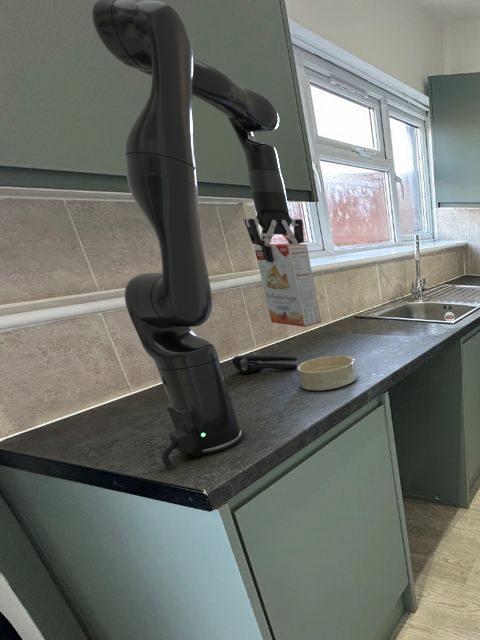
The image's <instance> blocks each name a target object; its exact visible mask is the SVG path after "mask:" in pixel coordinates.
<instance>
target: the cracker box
mask: <svg viewBox="0 0 480 640" xmlns="http://www.w3.org/2000/svg"><path fill="white" fill-rule="evenodd" d="M269 247H271V251H272V256H273V262H267V261H266V260H265V259H264V257H263V253H262V248H261V246H259V245H256V244H253V249H254V253H255V258H256V262H257V265H258V270H259V274H260V279H261V282H262V287H263V292H264V296H265V300H266V304H267V309H268V313H269V317H270V321H271V323H274V324H282V325H287V326H296V327H302V328H304V327H309V326H313V325H317V324H321V323H322V320H321V314H320V310H319V303H318V298H317V293H316V287H315V282H314V277H313V272H312V267H311V261H310V257H309V250H308V246H307V244H305V243H300V244H289V243H270V245H269Z"/></svg>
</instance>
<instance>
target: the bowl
mask: <svg viewBox="0 0 480 640" xmlns="http://www.w3.org/2000/svg"><path fill="white" fill-rule="evenodd" d="M297 366H298V367H297V368H296V371H297V376H298V379H299V384H300V387H301V388H302V389H304V390H307V391H329V390H330V391H331V390H335V389H339V388H343V387H345V386H347V385H349V384H351V383H353V382H354V381H356V380H357V378H358V375H357V369H356V364H355V358H353V357H352V356H348V355H326V356H321V357H315V358H312V359H308V360H306V361H304V362H301V363H300V364H297Z"/></svg>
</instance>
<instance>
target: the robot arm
mask: <svg viewBox="0 0 480 640" xmlns="http://www.w3.org/2000/svg"><path fill="white" fill-rule="evenodd" d="M91 19H92V23H93V28H94V30H95V33H96V34H97V36H98V38H99V41H101V43H102V45H103V46H104V47H105V49H106V50H107V51H108V52H109V53H110V54H111V55H112V56H113V57H114V58H115V59H116V60H118V61H119V63H122V64H123V65H124V66H127V67H128V68H130V69H133V70H136V71H138V72H139V73H143V74H146V75H149V76H150V88H149V92H148V95H147V98H146V100H145V103H144V104H143V106H142V108H141V109H140V111H139V113H138V114H137V116H136V117H135V119H134V121H133V123H132V125H131V126H130V128H129V130H128V133H127V135H126V138H125V141H124V161H125V162H124V163H125V171H126V173H125V174H126V179H127V186H128V190H129V192H130V194H131V196H132V198H133V201H134V202H135V204H136V205H137V207H138V208H139V210H140V211H141V213H142V214H143V216H144V218H145V219H146V220H147V223H148V224H149V226H150V227H151V228H152V230H153V232H154V234H155V236H156V238H157V241H158V244H159V250H160V258H161V272H156V273H155V272H154V273H152V272H151V273H149V272H148V273H141V274H137V275H136V276H133V277H132V278H131V279H129V281H128V282H127V284H126V286H125V289H124V302H125V307H126V311H127V313H128V316H129V318H130V320H131V323H132V325H133V328H134V329H135V332H136V334H137V336H138V338H139V341H140V343H141V346H142V347H143V350H144V351H145V352H146V353H147V355H148V356H149V357H150V358H151V359H152V360H153V361H154V363H155V366H156V369H157V371H158V374H159V376H160V379H161V382H162V385H163V388H164V390H165V393H166V397H167V399H168V402H169V404H167V405H166V407H167V410H168V413H169V416H170V418H171V421H172V425H173V427H174V429H175V430H174V431H172V432H168V436H169V440H170V442H171V444H170V445H169V446H168V447H167V448H166V449H165V450H164V451H163V453H162V456H161V460H162V462H163V464H164V465H165V467H166V468H170V467H172V466H173V467H174V465H173V464H172V462H171V461H170V458H169V456H170V454H171V452H172V451H174V450H177V451H178V452H180V453H181V454H185V453H187V454H190V455H191V456H193V457H195V458H198V457H201V456H203V455H208V454H213V453H214V454H215V453H217V452H221V451H224V450H226V449H229V448H231V447H233V446H234V445H237V444H238V443H239V442H241V440H242V438H243V433H242V430H241V428H240V425H239V422H238V418H237V414H236V412H235V408H234V405H233V401H232V398H231V395H230V392H229V389H228V384H227V381H226V378H225V376H224V373H223V368H222V365H221V361H220V359H219V356H218V355H219V354H218V351H217V349H216V347H215V345H214V343H213V342H211V341H209V340H207V339H206V338H203V337H201V336H199V335H198V334H197V333H195V332H194V331H193V330H192V329H191V328H193V327H199V326H201V325H203V324H204V323H206V322H207V321H208V319H209V318H210V315H211V313H212V307H213V296H212V289H211V283H210V277H209V272H208V268H207V263H206V257H205V251H204V246H203V238H202V227H201V220H200V219H201V218H200V211H199V210H200V209H199V186H198V174H197V173H198V172H197V164H196V163H197V162H196V154H195V146H194V145H195V144H194V128H193V97H195V98H197V99H199V100H201V101H202V102H204V103H205V104H208V105H209V106H211V107H212V108H213V109H215V110H217V111H218V112H220V113H221V114H222V115H225V116H226V117H227V120H228V122H229V124H230V125H231V126H230V127H231V128H232V129H233V131H234V134H235V135H236V138H237V140H238V142H239V145H240V146H241V149H242V151H243V155H244V159H245V164H246V169H247V173H248V174H247V175H248V184H249V189H250V193H251V198H252V202H253V206H254V210H255V212H256V217H255V218H244V225H245V227H246V230H247V233H248V235H249V239H250V241H251V243H252V244H253V245H259V246H261V248H262V253H263V257H264V259H265V260H266V261H267V262H273V256H272V251H271V247H269V245H270V244H271V242H272V241H271V240H272V239H273V236H274V235H281V236H282V237H283V238H284V239H285V240H286V242H287V244H304V242H305V236H304V222H303V220H302V219H301V218H292V217H291V216H290V208H289V203H288V200H287V193H286V188H285V183H284V179H283V176H282V173H281V168H280V162H279V157H278V153H277V150H276V148H275V147H274V145H271V144H270V143H266V142H262V141H261V142H260V141H257V140H256V137H255V136H254V133H272V132H274V131H275V130H276V129H277V128H278V127H279V123H280V117H279V114H278V111H277V109H276V107H275V106H274V104H273V103H272V102H271V100H269V98H267V97H265V96H264V95H263V94H261V93H259V92H257V91H255V90H253V89H250V88H249V87H245V86H242V85H240V84H239V83H238V82H236V81H235V79H233V78H231V77H230V76H229V75H227V74H226V73H225V72H223V71H222V70H220V69H218V68H217V67H215V66H214V65H211V64H209V63H207V62H204V61H202V60H200V59H198V58H195V57H194V52H193V45H192V41H191V40H192V39H191V37H190V33H189V30H188V28H187V26H186V23H185V21H184V20H183V17H182V16H181V15H180V13H179V12H178V11H177V10H176V9H175V8H174V7H173V6H172V5H171V4H169V3H167V2H166V1H163V0H95V2H93V5H92V7H91ZM258 226H259V227H261V232H259V230H258ZM291 226H292V228H293V231H292V229H291V228H290V227H291Z"/></svg>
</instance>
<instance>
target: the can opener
mask: <svg viewBox="0 0 480 640" xmlns="http://www.w3.org/2000/svg"><path fill="white" fill-rule="evenodd" d="M297 360H298V358H297V356H293V355H284V354H258V353H257V352H254V353H253V354H243V355H242V354H241V355H235V356H233V358H232V365H233V366H234V368H235V369H236V370H238V371H239V372H240V373H242V374H251V373H253V372H256V371H258V370H262V369H272V370H295V369H297V367H298V364H296V363H285V362H295V361H297ZM279 362H280V363H279ZM281 362H284V363H281Z"/></svg>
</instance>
